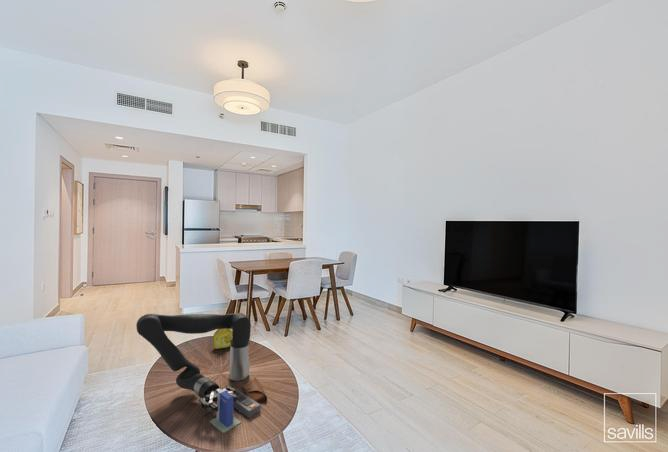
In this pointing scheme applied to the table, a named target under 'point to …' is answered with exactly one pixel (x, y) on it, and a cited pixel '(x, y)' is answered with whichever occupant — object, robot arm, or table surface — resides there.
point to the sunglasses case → (255, 391)
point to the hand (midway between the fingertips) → (226, 404)
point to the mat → (223, 427)
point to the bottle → (222, 338)
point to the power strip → (244, 405)
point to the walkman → (225, 407)
